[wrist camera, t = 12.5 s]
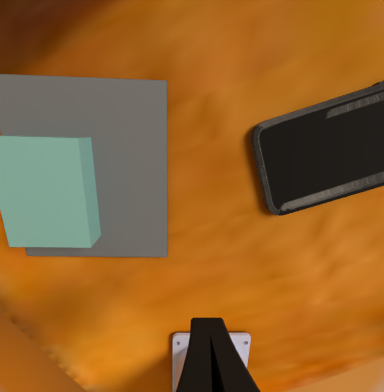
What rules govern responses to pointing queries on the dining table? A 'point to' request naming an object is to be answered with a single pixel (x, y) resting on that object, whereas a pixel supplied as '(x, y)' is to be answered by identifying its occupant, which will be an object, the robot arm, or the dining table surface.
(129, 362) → the dining table surface
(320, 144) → the phone
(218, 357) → the robot arm
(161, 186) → the mat
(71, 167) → the block
